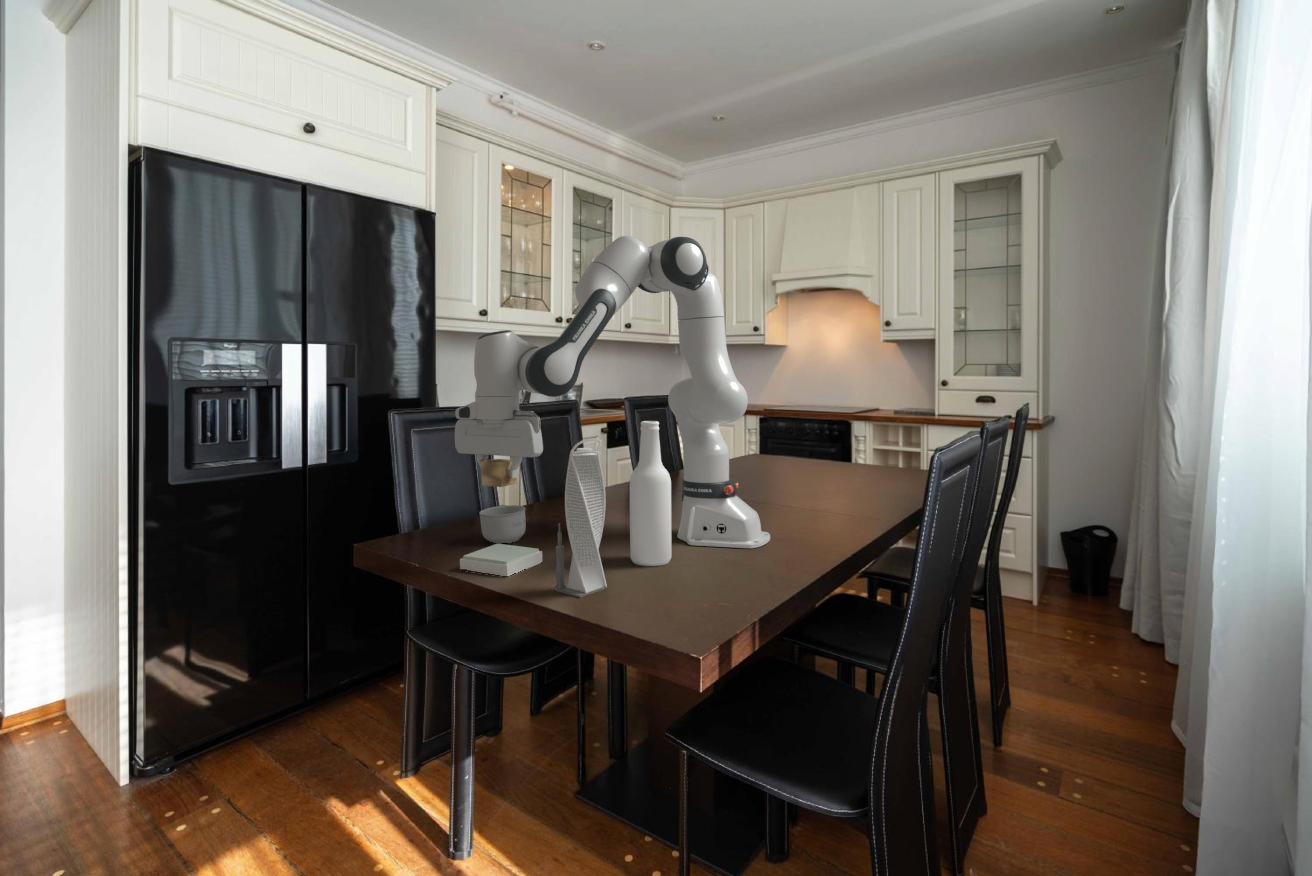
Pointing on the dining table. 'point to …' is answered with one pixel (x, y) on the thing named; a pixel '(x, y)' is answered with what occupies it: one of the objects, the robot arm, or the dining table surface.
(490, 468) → the oak cube
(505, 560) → the stand
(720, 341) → the robot arm
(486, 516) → the teacup
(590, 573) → the skyscraper
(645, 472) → the alcohol
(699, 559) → the dining table surface
